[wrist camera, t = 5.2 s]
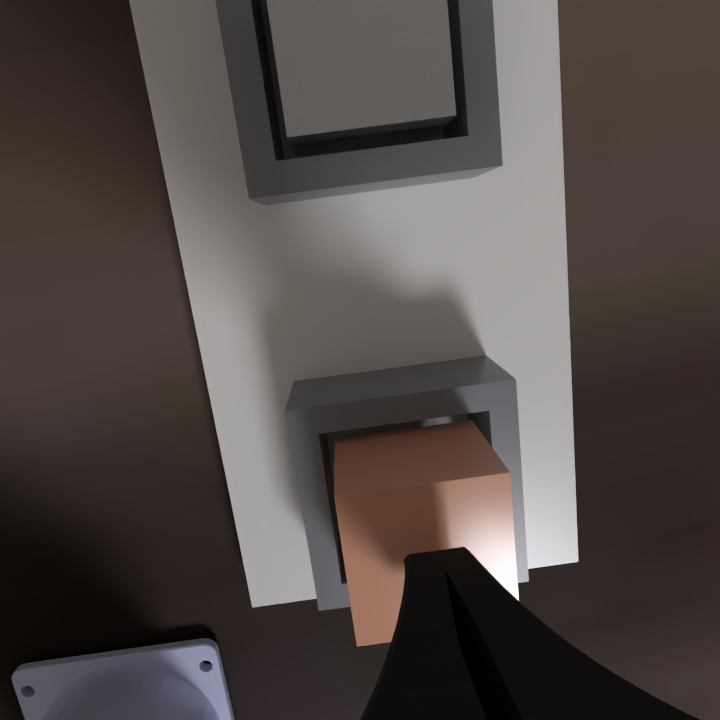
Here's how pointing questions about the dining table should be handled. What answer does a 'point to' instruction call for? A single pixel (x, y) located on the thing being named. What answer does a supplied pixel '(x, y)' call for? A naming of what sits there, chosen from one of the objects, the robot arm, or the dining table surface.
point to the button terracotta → (417, 512)
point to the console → (369, 277)
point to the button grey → (362, 72)
